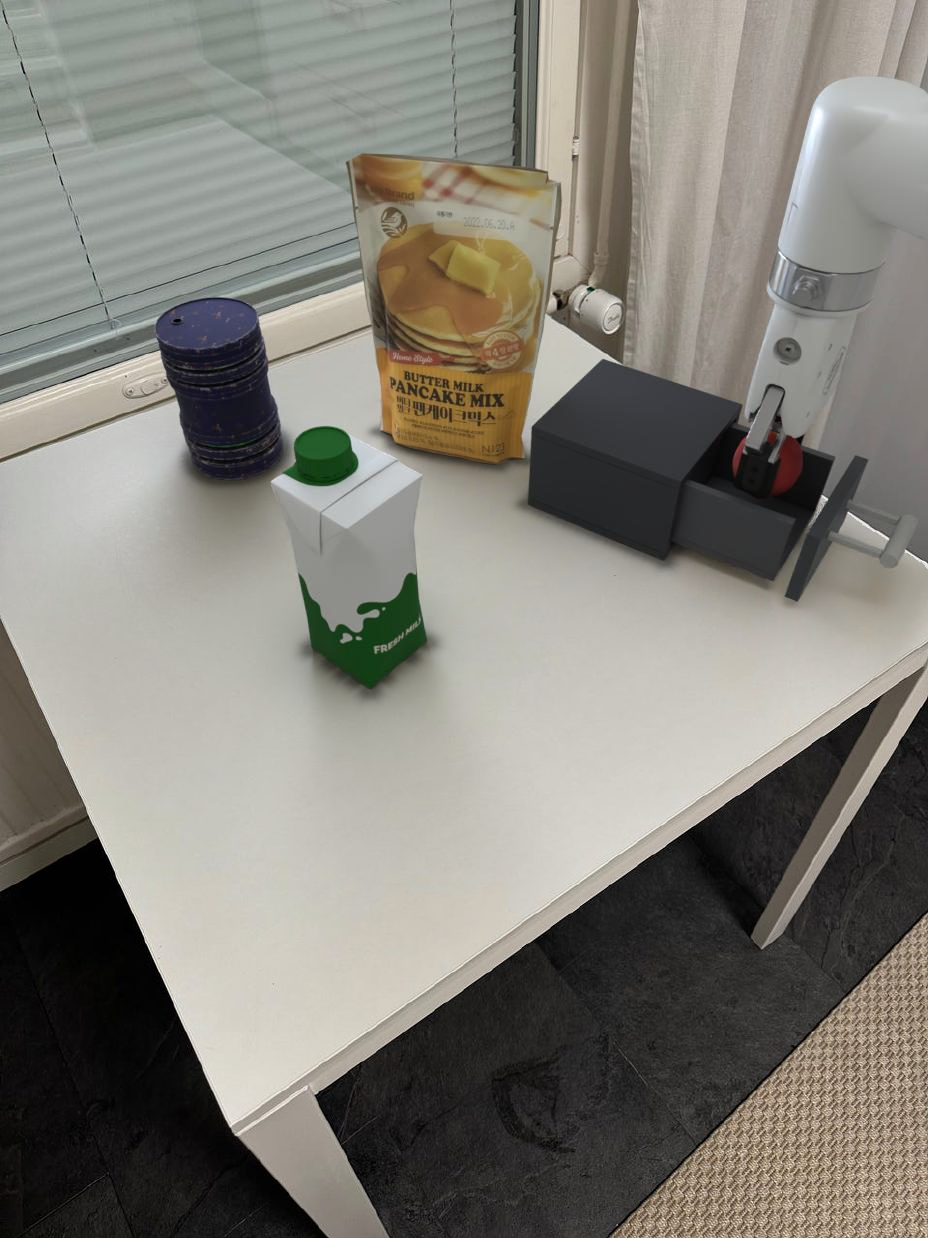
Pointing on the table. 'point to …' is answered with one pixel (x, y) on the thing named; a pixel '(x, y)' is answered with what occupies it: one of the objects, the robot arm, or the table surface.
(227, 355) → the navy blue cylinder
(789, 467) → the onion
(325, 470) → the milk carton
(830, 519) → the drawer
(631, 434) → the cabinet
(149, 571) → the table surface
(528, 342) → the pancake mix bag
